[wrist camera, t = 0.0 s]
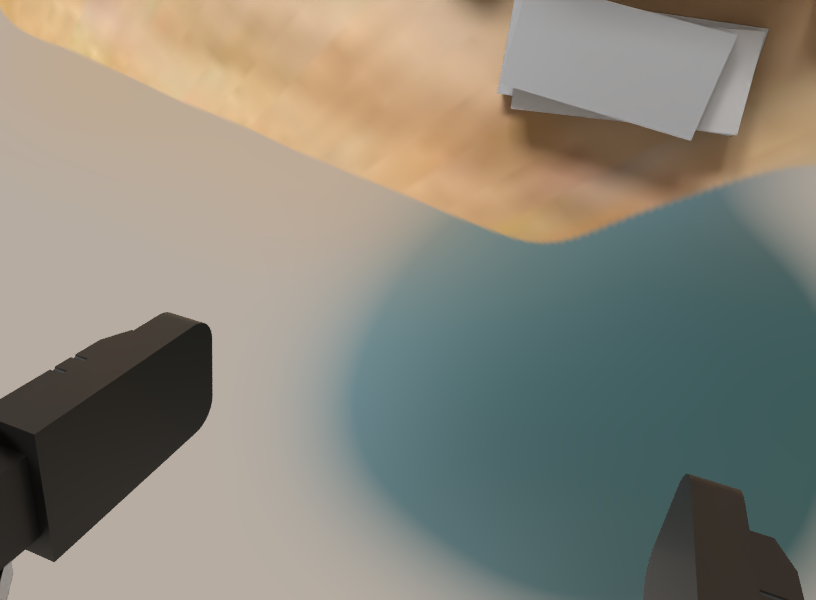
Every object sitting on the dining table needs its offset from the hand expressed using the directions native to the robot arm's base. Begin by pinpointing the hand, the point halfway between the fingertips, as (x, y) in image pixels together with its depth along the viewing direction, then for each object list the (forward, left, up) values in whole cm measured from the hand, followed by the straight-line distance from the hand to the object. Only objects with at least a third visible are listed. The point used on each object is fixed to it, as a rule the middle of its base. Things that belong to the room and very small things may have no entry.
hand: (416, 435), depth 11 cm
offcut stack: (-4, +1, -29) cm, 30 cm away
